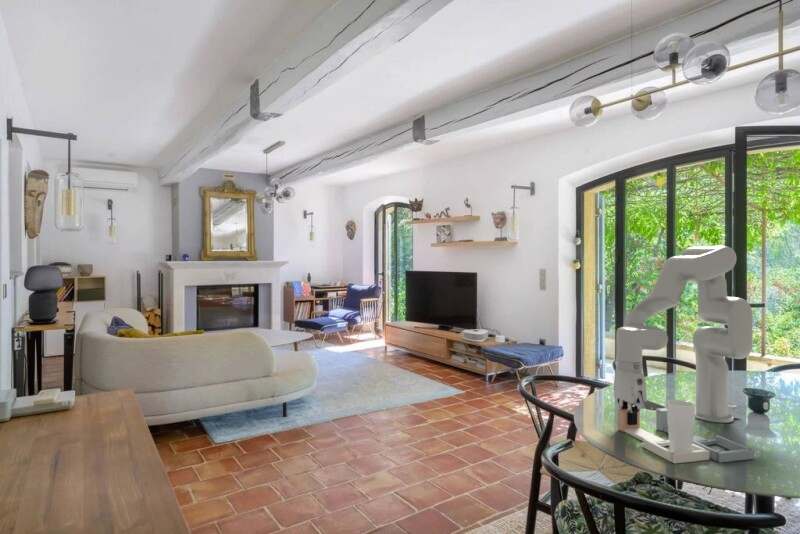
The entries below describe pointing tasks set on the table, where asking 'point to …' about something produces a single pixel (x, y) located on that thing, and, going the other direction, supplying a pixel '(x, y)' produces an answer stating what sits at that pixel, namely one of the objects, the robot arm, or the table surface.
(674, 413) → the drinking glass
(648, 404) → the smartphone
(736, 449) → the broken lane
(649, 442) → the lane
